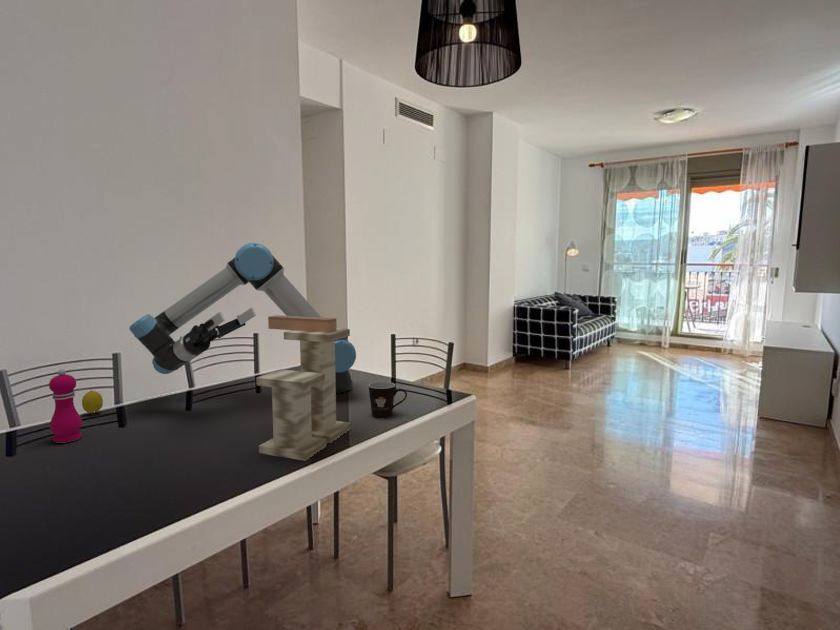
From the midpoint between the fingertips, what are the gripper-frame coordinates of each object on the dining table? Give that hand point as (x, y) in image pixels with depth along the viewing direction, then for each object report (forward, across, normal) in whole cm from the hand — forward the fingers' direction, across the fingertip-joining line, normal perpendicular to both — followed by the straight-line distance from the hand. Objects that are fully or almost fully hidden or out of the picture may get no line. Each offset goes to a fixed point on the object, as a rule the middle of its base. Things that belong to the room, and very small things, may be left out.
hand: (238, 313), depth 145 cm
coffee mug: (+17, +21, +49) cm, 56 cm away
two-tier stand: (+7, -6, +43) cm, 44 cm away
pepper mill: (-48, -29, +12) cm, 57 cm away
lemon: (-60, -11, +4) cm, 61 cm away
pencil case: (+17, 0, +14) cm, 22 cm away
